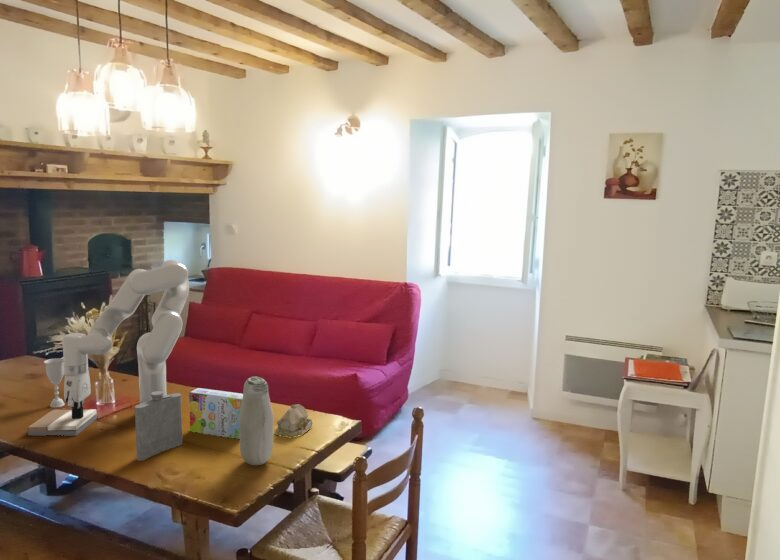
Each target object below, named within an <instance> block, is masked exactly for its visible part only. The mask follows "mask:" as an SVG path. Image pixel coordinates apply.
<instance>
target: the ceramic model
mask: <svg viewBox="0 0 780 560" xmlns="http://www.w3.org/2000/svg"><path fill="white" fill-rule="evenodd" d="M308 417H309V414H308V413H307V410H306V409H305V407H304V406H303V405H301V404H299V403H297V404H295V403H293V404H291V405H290V408H288V409H287V411H286V412H285V413H284V414H283V415H282V416H281V417H280V418H279V419H278V420H277V422H276V424H277V427H276V428H275V429H274V433H275V434H276V435H281V436H280V437H283V436H288V437H294V436H298V435H303V434H304V433H305V432H307V431H308V430H309V429H310V428H311V429H312V426H313V419H311V418H308ZM311 429H310V430H311ZM310 430H309V431H310ZM309 431H308V432H309ZM308 432H307V433H308ZM275 434H274V435H275ZM305 434H306V433H305ZM305 434H304V435H305ZM276 435H275V436H276ZM304 435H303V436H304Z"/></svg>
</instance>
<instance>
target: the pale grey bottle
mask: <svg viewBox="0 0 780 560" xmlns="http://www.w3.org/2000/svg"><path fill="white" fill-rule="evenodd" d="M242 389H243V392H242V394H243V400H242V404H241V409H240V414H239V432H240V440H239V452H240V455H241V457H242V459H243V461H244V462H245V463H246V464H249V465H251V466H261V465H264V464H266V463H267V462H268V461H269V459H270V458H271V456H272V453H273V448H274V411H273V407H272V402H271V399H270V393H269V384H268V382H267V381H266V379H264V378H263V377H259V376H251V377H249V378H247V379H246V380H245V382H244V384H243V388H242Z"/></svg>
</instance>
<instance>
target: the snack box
mask: <svg viewBox="0 0 780 560" xmlns="http://www.w3.org/2000/svg"><path fill="white" fill-rule="evenodd" d="M242 400H243V393H241V392H240V393H239V392H232V391H224V390H218V389H216V390H215V389H209V388H203V387H202V388H201V387H197V388H195V389H193V390H192V391H189V432H190V431H192V432H191V433H195V432H198V433H197V434H202V433H204V434H203V435H208V434H211V435H210V436H214V435H217V436H216V437H220V436H222V437H221V438H227V437H229V438H228V439H233V438H236V439H235V440H239V439H240V432H239V414H240V409H241V404H242Z"/></svg>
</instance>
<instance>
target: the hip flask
mask: <svg viewBox="0 0 780 560" xmlns="http://www.w3.org/2000/svg"><path fill="white" fill-rule="evenodd" d="M162 395H163V392H162V391H155V392H152V393H151V396H152V400H149V401H146V402H144V403H141V404H140V403H139V404H137V405H135V406H134V417H135V420H134V421H135V446H136V448H135V449H136V460H137V461H138V462H140V461H141V460H142V461H146V460H148V459H149V457H150V458H152V457H154V456H155V454H156V455H158V454H160V452H161V453H163V452H165V450H166V451H168V450H171V449H174V448H177V447H176V446H178V447H180V445H181V446H182V445H183V421H182V420H183V418H182V394H181V393H178V392H177V393H170V394H167V395H164V396H162ZM173 447H174V448H173ZM170 448H171V449H170ZM162 451H163V452H162ZM153 455H154V456H153ZM151 456H152V457H151ZM147 458H148V459H147ZM145 459H146V460H145ZM142 461H141V462H142Z"/></svg>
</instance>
